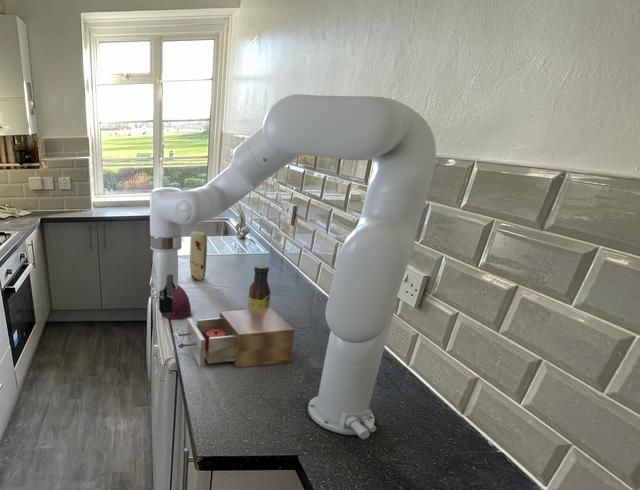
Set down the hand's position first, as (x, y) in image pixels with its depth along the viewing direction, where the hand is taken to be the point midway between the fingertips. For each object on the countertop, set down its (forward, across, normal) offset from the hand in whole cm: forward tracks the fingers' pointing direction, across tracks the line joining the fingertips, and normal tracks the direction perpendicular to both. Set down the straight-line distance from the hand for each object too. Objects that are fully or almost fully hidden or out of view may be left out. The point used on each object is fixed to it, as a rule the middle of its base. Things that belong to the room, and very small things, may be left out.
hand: (165, 311), depth 104 cm
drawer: (+14, 0, +12) cm, 18 cm away
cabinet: (+14, 0, +25) cm, 29 cm away
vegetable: (+15, -30, +10) cm, 35 cm away
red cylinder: (+12, 0, +14) cm, 19 cm away
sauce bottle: (+15, -14, +32) cm, 37 cm away
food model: (+15, -64, +27) cm, 71 cm away
